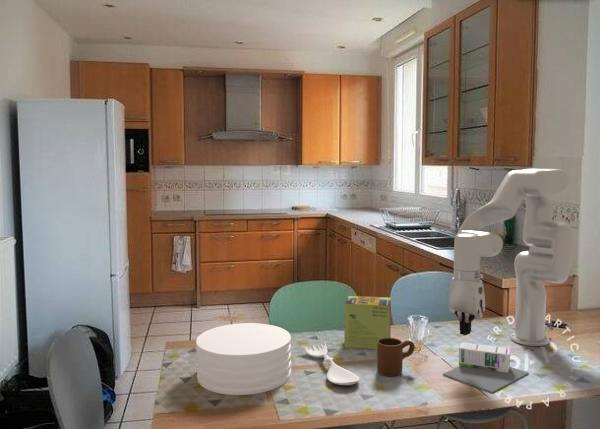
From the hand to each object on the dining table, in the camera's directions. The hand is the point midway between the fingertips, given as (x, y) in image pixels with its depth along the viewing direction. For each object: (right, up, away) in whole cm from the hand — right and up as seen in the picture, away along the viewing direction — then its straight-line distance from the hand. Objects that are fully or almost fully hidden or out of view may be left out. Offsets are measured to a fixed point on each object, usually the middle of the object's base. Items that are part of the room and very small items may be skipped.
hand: (465, 333), depth 160 cm
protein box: (-27, -9, +23) cm, 36 cm away
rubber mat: (+5, -11, -5) cm, 13 cm away
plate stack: (-67, -12, -2) cm, 68 cm away
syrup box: (-1, -7, +4) cm, 8 cm away
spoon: (-41, -11, +1) cm, 43 cm away
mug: (-21, -11, -1) cm, 24 cm away
